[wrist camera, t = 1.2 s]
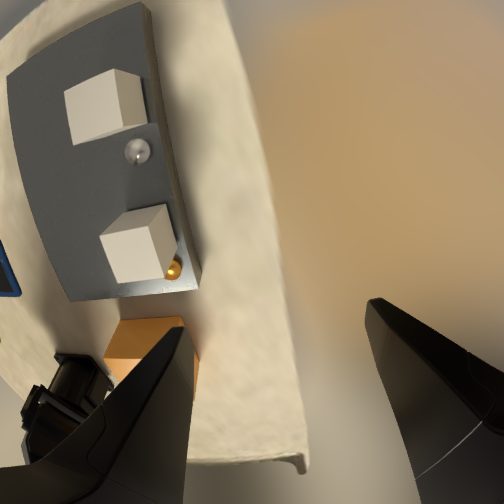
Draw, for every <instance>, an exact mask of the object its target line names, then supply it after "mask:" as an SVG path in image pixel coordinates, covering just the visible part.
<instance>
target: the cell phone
mask: <svg viewBox="0 0 504 504" xmlns="http://www.w3.org/2000/svg"><path fill="white" fill-rule="evenodd" d="M21 294H22V291H21V288H20V286H19V284H18V282H17V279H16V277H15V275H14V273H13V270H12V268H11V265H10V263H9V260H8V258H7V255H6V253H5V250H4V247H3V245H2V242H1V240H0V297H19V296H21Z"/></svg>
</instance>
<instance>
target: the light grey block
mask: <svg viewBox="0 0 504 504" xmlns="http://www.w3.org/2000/svg"><path fill="white" fill-rule="evenodd" d="M99 237H100V240H101V242H102V245H103V248H104V250H105V253H106V256H107V258H108V261H109V263H110V266H111V268H112V271H113V273H114V275H115V278H116V280H117V283H126V282H134V281H142V280H150V279H158V278H165V276H166V273H167V271H168V269H169V266H170V264H171V262H172V260H173V257H174V255H175V253H176V251H177V248H178V247H177V244H176V240H175V236H174V233H173V229H172V226H171V222H170V218H169V214H168V211H167V207H166V204H162V205H157V206H152V207H148V208H143V209H138V210H134V211H129V212H125V213H123V214H121V215H120V216H119V217H118V218H117V219H116V220H115V221H114V222H113V223H112V224H111V225H110V226H109V227H108V228H107V229H106V230H105V231H104V232H103V233H102V234H101V235H100V236H99Z"/></svg>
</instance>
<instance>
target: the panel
mask: <svg viewBox="0 0 504 504" xmlns="http://www.w3.org/2000/svg"><path fill="white" fill-rule="evenodd" d="M111 69H117V70H121V71H124V72H127V73H131V74H134V75H137V76H140V81H141V88H142V94H143V100H144V106H145V111H146V117H147V122H148V124H144V125H141V126H137V127H134V128H131V129H128V130H125V131H122V132H119V133H116V134H113V135H110V136H107V137H104V138H100V139H96V140H92V141H88V142H84V143H80V144H77V145H73V142H72V137H71V132H70V127H69V122H68V116H67V110H66V103H65V96H64V91H66V90H68V89H70V88H72V87H74V86H76V85H78V84H80V83H82V82H84V81H86V80H88V79H90V78H93V77H95V76H97V75H99V74H102V73H104V72H107V71H109V70H111ZM7 94H8V105H9V114H10V122H11V129H12V135H13V141H14V146H15V151H16V156H17V161H18V165H19V169H20V173H21V177H22V181H23V185H24V188H25V192H26V195H27V199H28V202H29V205H30V208H31V211H32V214H33V217H34V220H35V223H36V226H37V229H38V231H39V234H40V237H41V239H42V242H43V244H44V247H45V249H46V252H47V254H48V256H49V259H50V261H51V263H52V265H53V268H54V270H55V272H56V274H57V276H58V278H59V281H60V283H61V285H62V287H63V289H64V291H65V293H66V295H67V297H68V298H69V300H70V302H74V301H86V300H97V299H109V298H119V297H129V296H139V295H149V294H158V293H168V292H176V291H185V290H194V289H199V285H200V281H201V276H202V272H201V268H200V264H199V261H198V257H197V253H196V249H195V245H194V242H193V238H192V234H191V230H190V226H189V222H188V218H187V214H186V210H185V205H184V201H183V197H182V192H181V188H180V184H179V179H178V175H177V170H176V165H175V161H174V156H173V151H172V146H171V141H170V136H169V131H168V126H167V121H166V115H165V110H164V104H163V98H162V92H161V86H160V80H159V74H158V67H157V60H156V53H155V46H154V38H153V30H152V21H151V12H150V10H149V9H148V8H147V7H146V6H145V5H144V4H143V3H142V2H139V3H136V4H133V5H131V6H128V7H125V8H123V9H120V10H118V11H115V12H113V13H111V14H108V15H106V16H104V17H102V18H99V19H97V20H95V21H93V22H91V23H89V24H87V25H85V26H83V27H81V28H79V29H77V30H75V31H74V32H72V33H70V34H68V35H66V36H65V37H63V38H61V39H60V40H58V41H56V42H55V43H53V44H51V45H50V46H48V47H47V48H45V49H43V50H42V51H40V52H39V53H37V54H36V55H35V56H33V57H32V58H30V59H29V60H27V61H26V62H25V63H23V64H22V65H21V66H19V67H18V68H17V69H15V70H14V71H13V72H12V73H10V74H9V75H8V76H7ZM162 204H166V207H167V211H168V214H169V218H170V222H171V226H172V229H173V233H174V236H175V240H176V244H177V247H178V248H177V251H176V253H175V255H174V257H173V260H172V262H171V264H170V266H169V269H168V271H167V273H166V276H165V278H158V279H150V280H142V281H134V282H126V283H117V280H116V278H115V275H114V273H113V271H112V268H111V266H110V263H109V261H108V258H107V256H106V253H105V250H104V248H103V245H102V242H101V240H100V237H99V236H100V235H101V234H102V233H103V232H104V231H105V230H106V229H107V228H108V227H109V226H110V225H111V224H112V223H113V222H114V221H115V220H116V219H117V218H118V217H119V216H120V215H121V214H123V213H125V212H129V211H134V210H138V209H143V208H148V207H152V206H157V205H162Z"/></svg>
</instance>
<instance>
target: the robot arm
mask: <svg viewBox="0 0 504 504" xmlns="http://www.w3.org/2000/svg"><path fill="white" fill-rule="evenodd" d="M365 328H366V331H367V335H368V338H369V342H370V345H371V349H372V352H373V355H374V360H375V363H376V367H377V370H378V372H379V375H380V378H381V380H382V383H383V385H384V388H385V391H386V393H387V396H388V399H389V401H390V404H391V407H392V409H393V412H394V415H395V418H396V421H397V423H398V426H399V429H400V432H401V435H402V438H403V441H404V444H405V447H406V450H407V454H408V457H409V460H410V463H411V467H412V470H413V473H414V477H415V479H416V480H415V481H416V484H417V488H418V492H419V496H420V500H421V504H504V373H503V372H502V371H500V370H498V369H496V368H495V367H493V366H491V365H489V364H488V363H486V362H484V361H483V360H481V359H479V358H478V357H476V356H475V355H473V354H472V353H470V352H467V350H465V349H464V348H462V347H461V346H459V345H458V344H456V343H454V342H453V341H451V340H449V339H448V338H446V337H445V336H443V335H442V334H440V333H438V332H437V331H435V330H434V329H432V328H430V327H429V326H427V325H426V324H424V323H422V322H421V321H419V320H417V319H416V318H414V317H413V316H411V315H409V314H408V313H406V312H404V311H403V310H401V309H399V308H398V307H396V306H394V305H393V304H391V303H389V302H388V301H386V300H384V299H383V298H374V299H370V300H368V302H367V308H366V315H365ZM54 358H55V359H56V361H57V362H58V363H59V365H60V366H59V368H58V370H57V372H56V374H55V376H54V378H53V380H52V382H51V384H50V386H49V388H48V389H46V388H45V386H43V385H42V384H41V385H40V387H39V386H37V385H33V387H32V389H31V391H30V393H29V395H28V397H27V400H26V402H25V404H24V406H23V408H22V410H21V412H20V413H21V416H22V419H23V420H22V422H23V424H22V427H21V428H23V429H24V430H25V431H26V433H25V436H24V439H23V442H22V444H21V448H22V452H23V457H24V460H25V464H26V465H22V466H13V467H3V468H0V504H183V492H184V481H185V470H186V460H187V450H188V441H189V432H190V423H191V415H192V406H193V398H194V345H193V343H192V340H191V338H190V335H189V333H188V330H187V328H186V327H185V326H174V327H171V328H170V329H169V330H168V331H167V332H166V334H165V335H164V336H163V337H162V338H161V339H160V340H159V341H158V342H157V343H156V344H155V345H154V346H153V348H152V349H151V350H150V351H149V352H148V353H147V354H146V355H145V356H144V357H143V358H142V359H141V360H140V362H139V363H138V364H137V365H136V366H135V367H134V368H133V369H132V370H131V371H130V372H129V373H128V375H127V376H126V377H125V378H124V379H123V380H122V381H121V382H120V383H119V384H118V385H117V386H116V388H115V389H114V387H113V386H112V384H111V383H110V382H109V380H108V379H107V378H106V376H105V375H104V374H103V372H102V371H101V370H100V368H99V367H98V366H97V364H96V363H95V361H94V360H93V359H92V357H90V356H87V355H71V354H57V353H56V354H55V355H54ZM107 391H111V393H110V394H109V395H108V396H107V397H106V398H105V395H106V393H107ZM104 398H105V400H104ZM38 401H39V402H41V403H40V404H39V403H38Z"/></svg>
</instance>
